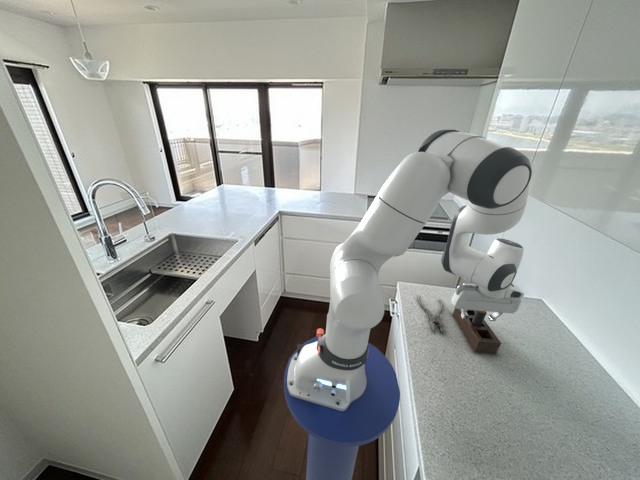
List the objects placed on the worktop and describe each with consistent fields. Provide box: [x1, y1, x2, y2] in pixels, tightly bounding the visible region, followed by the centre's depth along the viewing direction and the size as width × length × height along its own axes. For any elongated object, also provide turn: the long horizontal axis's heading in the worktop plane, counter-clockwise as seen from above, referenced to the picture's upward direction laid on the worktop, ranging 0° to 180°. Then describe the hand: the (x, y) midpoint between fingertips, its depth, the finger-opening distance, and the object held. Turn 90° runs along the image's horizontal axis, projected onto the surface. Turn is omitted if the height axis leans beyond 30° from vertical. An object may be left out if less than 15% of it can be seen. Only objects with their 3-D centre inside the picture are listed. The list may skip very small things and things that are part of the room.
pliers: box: [417, 295, 444, 334], centre depth 99 cm, size 10×1×20 cm
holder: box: [452, 307, 502, 355], centre depth 90 cm, size 7×18×5 cm, turn 176°
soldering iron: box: [471, 310, 487, 327], centre depth 88 cm, size 3×3×15 cm
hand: (477, 318), depth 88 cm, fingers open, 8 cm apart
